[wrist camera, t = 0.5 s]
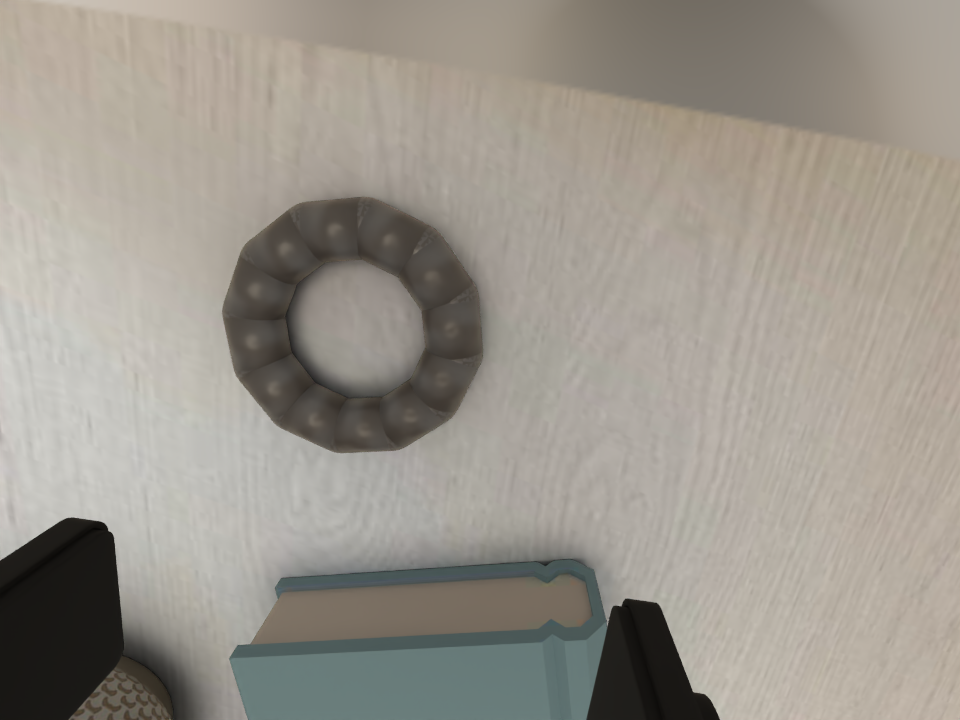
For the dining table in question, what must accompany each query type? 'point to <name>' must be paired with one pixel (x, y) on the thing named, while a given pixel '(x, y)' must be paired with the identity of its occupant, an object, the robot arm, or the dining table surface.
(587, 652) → the book
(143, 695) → the planter
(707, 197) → the dining table surface
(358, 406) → the segmented grey ring
